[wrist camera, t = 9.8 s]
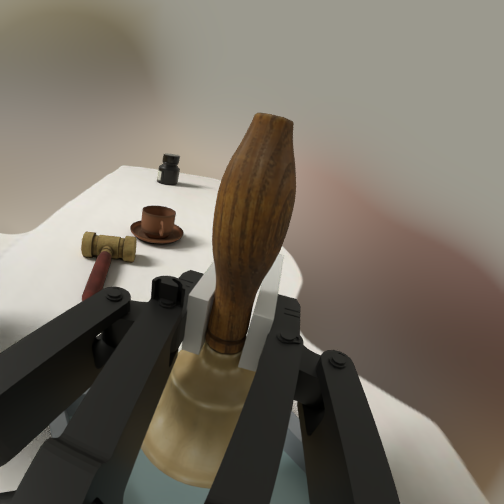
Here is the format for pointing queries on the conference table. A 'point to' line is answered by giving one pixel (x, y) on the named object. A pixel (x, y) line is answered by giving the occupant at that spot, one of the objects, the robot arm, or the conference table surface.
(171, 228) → the cup and saucer
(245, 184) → the hand bell
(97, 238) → the gavel
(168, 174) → the ink bottle
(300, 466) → the box
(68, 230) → the conference table surface
